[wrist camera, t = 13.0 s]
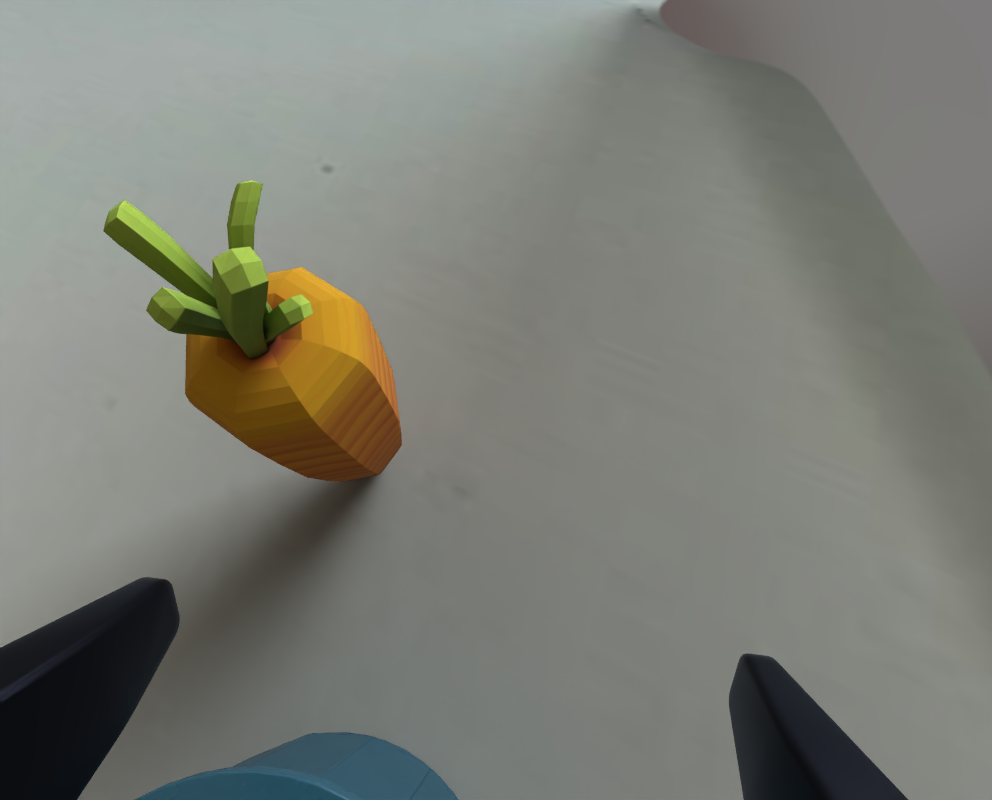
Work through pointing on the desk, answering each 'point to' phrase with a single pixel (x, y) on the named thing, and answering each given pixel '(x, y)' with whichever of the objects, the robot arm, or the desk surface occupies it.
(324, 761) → the pot
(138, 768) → the desk surface
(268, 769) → the pot lid
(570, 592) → the desk surface
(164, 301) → the carrot
